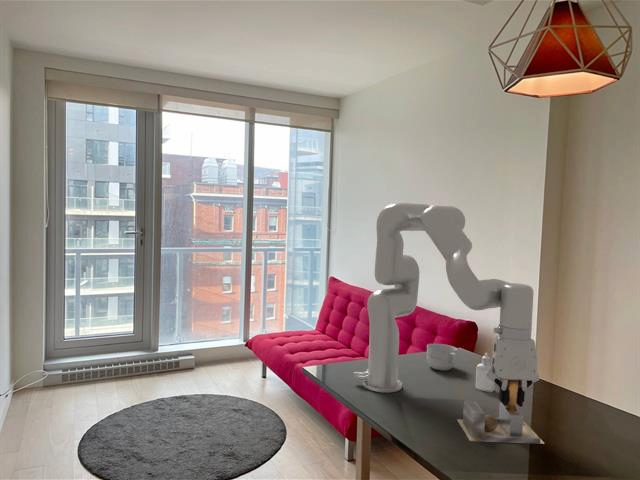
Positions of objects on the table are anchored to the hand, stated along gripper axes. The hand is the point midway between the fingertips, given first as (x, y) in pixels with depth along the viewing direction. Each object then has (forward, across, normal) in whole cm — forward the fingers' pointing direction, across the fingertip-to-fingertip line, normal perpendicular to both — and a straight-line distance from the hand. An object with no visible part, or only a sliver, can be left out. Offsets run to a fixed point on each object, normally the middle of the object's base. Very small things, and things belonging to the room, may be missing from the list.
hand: (511, 403), depth 122 cm
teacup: (+9, -4, +52) cm, 53 cm away
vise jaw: (+7, 0, 0) cm, 7 cm away
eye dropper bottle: (+9, +4, +33) cm, 34 cm away
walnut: (+7, -5, 0) cm, 9 cm away
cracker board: (+9, -3, 0) cm, 9 cm away
